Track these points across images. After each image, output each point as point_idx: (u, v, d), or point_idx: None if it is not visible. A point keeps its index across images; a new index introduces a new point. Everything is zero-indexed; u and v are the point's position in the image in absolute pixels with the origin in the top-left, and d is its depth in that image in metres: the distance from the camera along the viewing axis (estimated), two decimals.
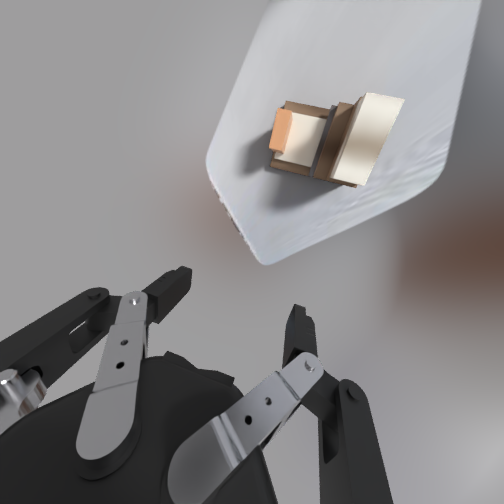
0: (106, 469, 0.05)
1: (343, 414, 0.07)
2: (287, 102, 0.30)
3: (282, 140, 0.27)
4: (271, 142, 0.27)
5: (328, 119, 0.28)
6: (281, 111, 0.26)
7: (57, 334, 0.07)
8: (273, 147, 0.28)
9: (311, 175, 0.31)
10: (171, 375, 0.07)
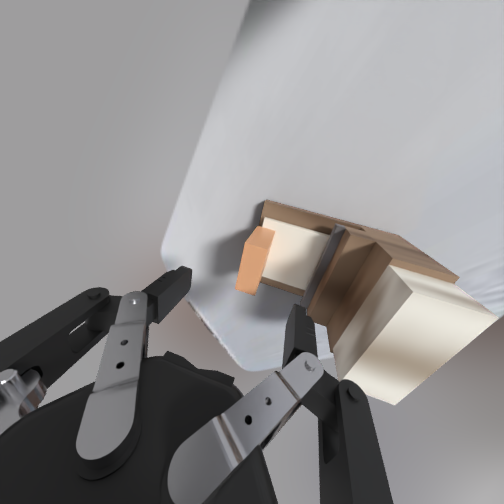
0: (106, 469, 0.05)
1: (343, 414, 0.07)
2: (267, 204, 0.19)
3: (255, 284, 0.17)
4: (238, 283, 0.17)
5: (331, 243, 0.17)
6: (251, 248, 0.15)
7: (57, 334, 0.07)
8: (242, 290, 0.17)
9: (305, 306, 0.21)
10: (171, 375, 0.07)
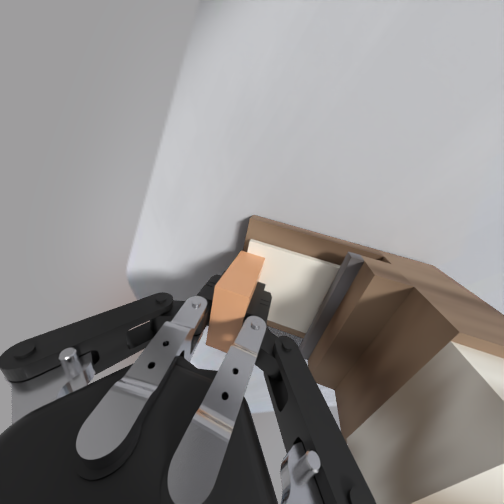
0: (106, 469, 0.05)
1: (284, 367, 0.08)
2: (253, 221, 0.14)
3: (234, 341, 0.11)
4: (210, 338, 0.12)
5: (343, 280, 0.12)
6: (224, 294, 0.10)
7: (118, 328, 0.08)
8: (215, 346, 0.12)
9: (305, 357, 0.16)
10: (171, 375, 0.07)
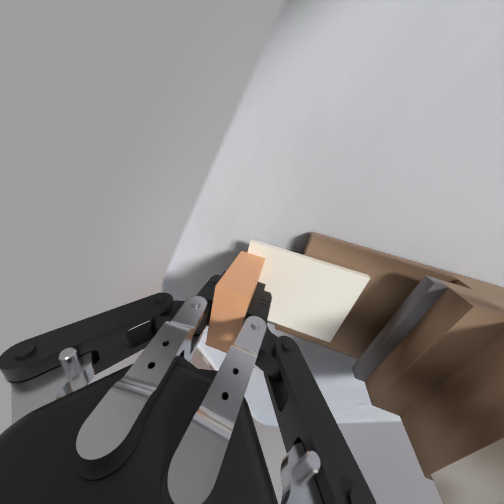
0: (106, 469, 0.05)
1: (285, 367, 0.08)
2: (315, 240, 0.13)
3: (234, 341, 0.11)
4: (210, 338, 0.12)
5: (420, 305, 0.11)
6: (225, 294, 0.10)
7: (118, 328, 0.08)
8: (215, 346, 0.12)
9: (362, 378, 0.15)
10: (171, 375, 0.07)
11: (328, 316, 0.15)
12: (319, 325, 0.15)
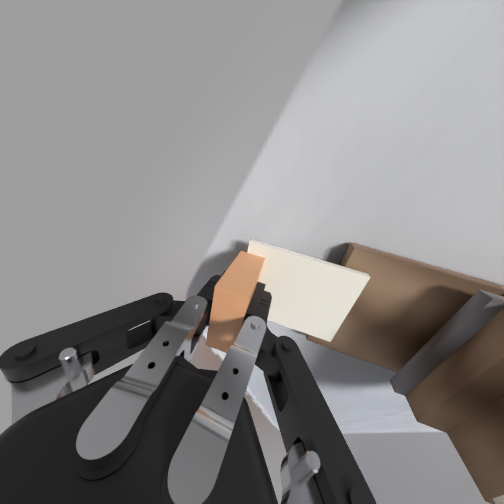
0: (106, 469, 0.05)
1: (284, 367, 0.08)
2: (358, 251, 0.13)
3: (234, 341, 0.11)
4: (210, 338, 0.12)
5: (474, 321, 0.11)
6: (224, 294, 0.10)
7: (118, 328, 0.08)
8: (215, 346, 0.12)
9: (402, 392, 0.15)
10: (171, 375, 0.07)
11: (329, 315, 0.15)
12: (319, 325, 0.15)
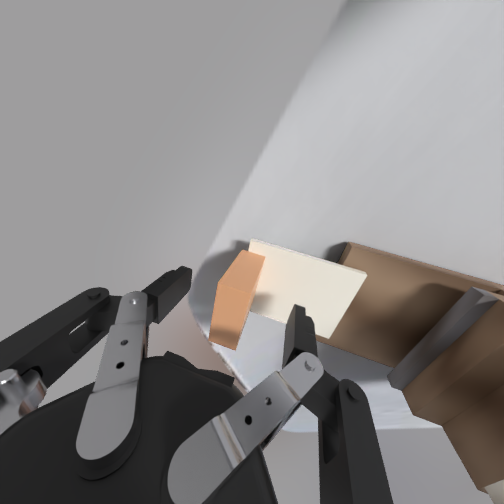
0: (106, 469, 0.05)
1: (343, 414, 0.07)
2: (355, 250, 0.14)
3: (235, 336, 0.12)
4: (212, 334, 0.12)
5: (467, 317, 0.12)
6: (227, 290, 0.10)
7: (57, 334, 0.07)
8: (218, 342, 0.12)
9: (399, 387, 0.15)
10: (171, 375, 0.07)
11: (327, 312, 0.15)
12: (318, 322, 0.16)
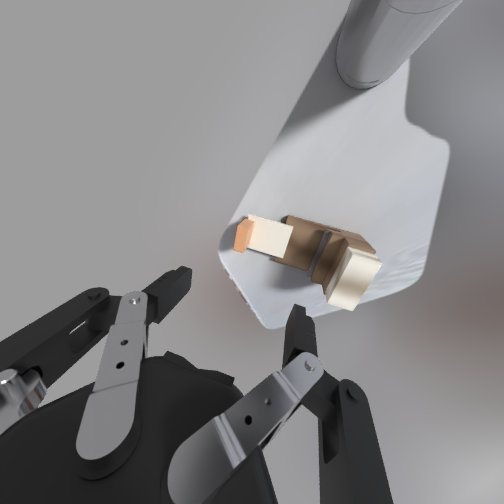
0: (106, 469, 0.05)
1: (343, 414, 0.07)
2: (289, 217, 0.35)
3: (243, 246, 0.33)
4: (234, 246, 0.34)
5: (324, 239, 0.33)
6: (240, 227, 0.32)
7: (57, 334, 0.07)
8: (236, 250, 0.34)
9: (310, 275, 0.36)
10: (171, 375, 0.07)
11: (280, 245, 0.37)
12: (277, 250, 0.37)
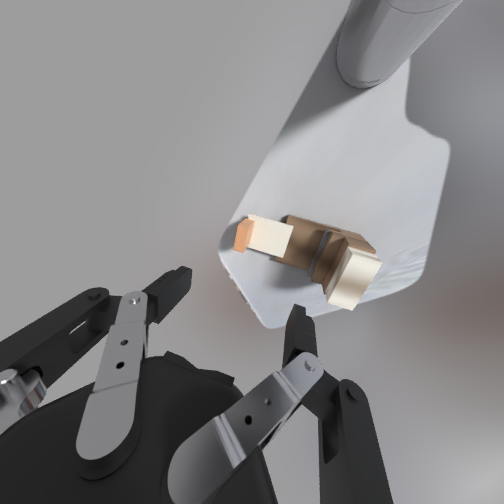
0: (106, 469, 0.05)
1: (343, 414, 0.07)
2: (289, 217, 0.35)
3: (243, 246, 0.33)
4: (235, 246, 0.34)
5: (324, 238, 0.33)
6: (241, 227, 0.32)
7: (57, 334, 0.07)
8: (236, 250, 0.34)
9: (310, 275, 0.36)
10: (171, 375, 0.07)
11: (281, 244, 0.37)
12: (278, 250, 0.37)
